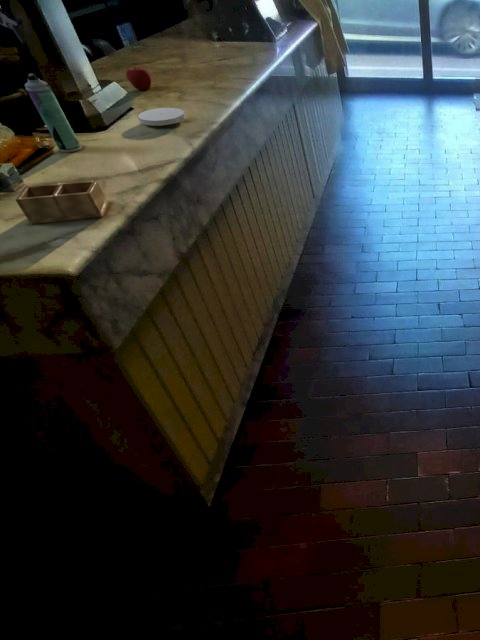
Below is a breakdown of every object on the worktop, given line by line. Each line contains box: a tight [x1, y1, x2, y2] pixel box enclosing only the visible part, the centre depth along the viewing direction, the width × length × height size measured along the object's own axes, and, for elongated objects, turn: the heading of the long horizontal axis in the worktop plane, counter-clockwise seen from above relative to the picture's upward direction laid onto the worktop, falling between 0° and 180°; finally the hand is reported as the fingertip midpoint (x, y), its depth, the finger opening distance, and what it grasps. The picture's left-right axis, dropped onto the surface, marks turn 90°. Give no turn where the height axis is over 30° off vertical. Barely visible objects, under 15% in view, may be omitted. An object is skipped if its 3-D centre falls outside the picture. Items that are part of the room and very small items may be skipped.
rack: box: [15, 180, 109, 225], centre depth 124 cm, size 15×8×6 cm, turn 109°
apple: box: [125, 66, 152, 91], centre depth 198 cm, size 8×8×8 cm
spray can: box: [24, 73, 83, 153], centre depth 148 cm, size 6×6×20 cm
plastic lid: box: [137, 107, 187, 127], centre depth 174 cm, size 14×14×2 cm
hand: (5, 43), depth 142 cm, fingers open, 8 cm apart
